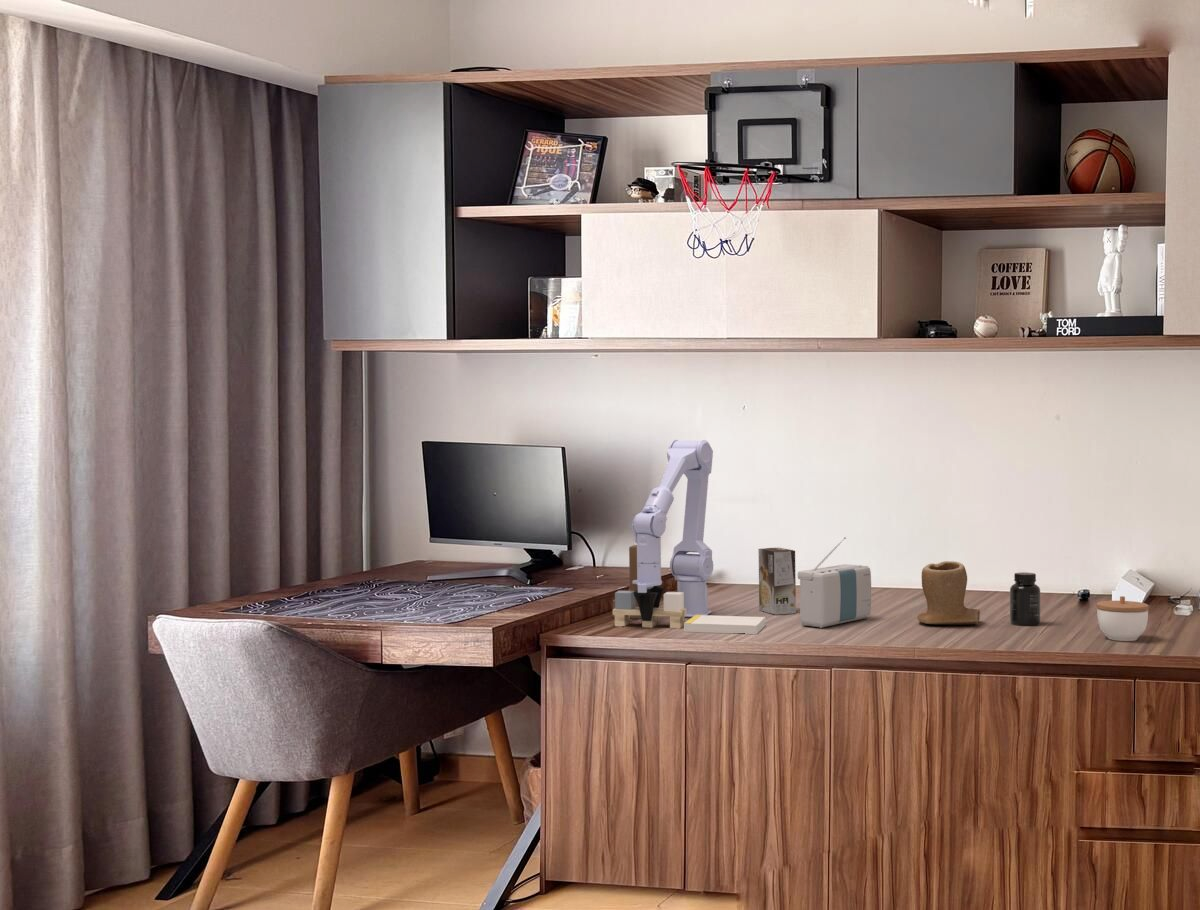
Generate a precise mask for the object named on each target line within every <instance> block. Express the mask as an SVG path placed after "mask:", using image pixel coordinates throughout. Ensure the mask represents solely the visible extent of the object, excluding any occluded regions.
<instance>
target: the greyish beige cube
mask: <svg viewBox="0 0 1200 910" xmlns="http://www.w3.org/2000/svg"><path fill="white" fill-rule="evenodd" d="M663 608H664V611H682V610H683V609H684V592H678V591H666V592H664V593H663Z"/></svg>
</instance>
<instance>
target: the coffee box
mask: <svg viewBox="0 0 1200 910" xmlns="http://www.w3.org/2000/svg"><path fill="white" fill-rule="evenodd" d="M796 583H797V582H796V550H793V549H790V548H789V549H788V548H784V547H767V548H758V596H759V597H758V599H759V601H758V602H759V604H758V609H759V612H760V611H761V612H763V611H764V612H765V613H768V614H772V615H774V616H775V615H776V616H777V615H790V614H794V615H795V614H796V613H797V609H796V608H797V603H796V601H797V598H796V595H797V594H796V593H797V592H796V591H797V588H796Z"/></svg>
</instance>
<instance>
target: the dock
mask: <svg viewBox="0 0 1200 910" xmlns="http://www.w3.org/2000/svg"><path fill="white" fill-rule="evenodd" d="M766 624H767V623H766V616H739V615H737V616H735V615H709V614H708V615H695V616H693V617H690V618H689V619H688V620H686V621H684V626H683V633H708V634H709V633H711V634H733V633H745V634H744V635H757V634H758V633H760V632H761V630H763V629H764V627H765V625H766Z"/></svg>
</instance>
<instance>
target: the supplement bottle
mask: <svg viewBox="0 0 1200 910" xmlns="http://www.w3.org/2000/svg"><path fill="white" fill-rule="evenodd" d="M1013 577H1014V578H1013V582H1015V583H1013V584H1012V585H1011V586H1010V588H1009V621H1010V624H1011V625H1014V626H1022V627H1035V626H1036V627H1037V626H1039V625H1040V624H1041V588H1040V586H1039V585H1037V584H1036V582H1037V574H1036V573H1035V572H1034V573H1033V572H1027V571H1026V572H1022V571H1021V572H1014V576H1013Z"/></svg>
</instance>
